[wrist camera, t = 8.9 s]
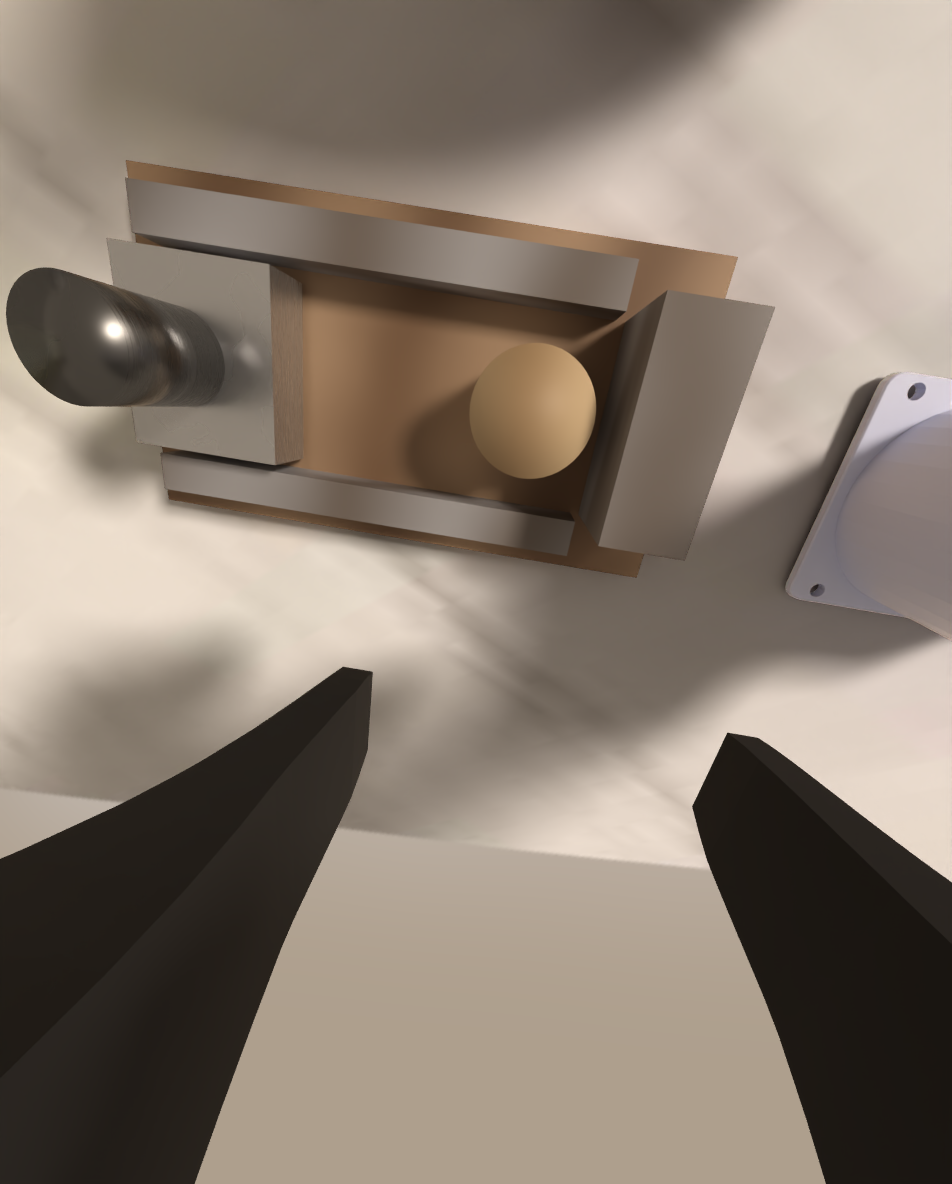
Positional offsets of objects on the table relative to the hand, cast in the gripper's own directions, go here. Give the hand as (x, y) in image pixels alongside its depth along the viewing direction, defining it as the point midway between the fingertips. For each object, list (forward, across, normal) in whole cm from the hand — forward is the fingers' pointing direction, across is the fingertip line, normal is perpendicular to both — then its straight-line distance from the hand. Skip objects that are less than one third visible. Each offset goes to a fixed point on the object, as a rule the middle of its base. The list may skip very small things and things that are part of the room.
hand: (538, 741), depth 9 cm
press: (+10, +5, -6) cm, 13 cm away
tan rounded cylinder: (+9, +1, -6) cm, 11 cm away
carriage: (+8, +11, -6) cm, 15 cm away
